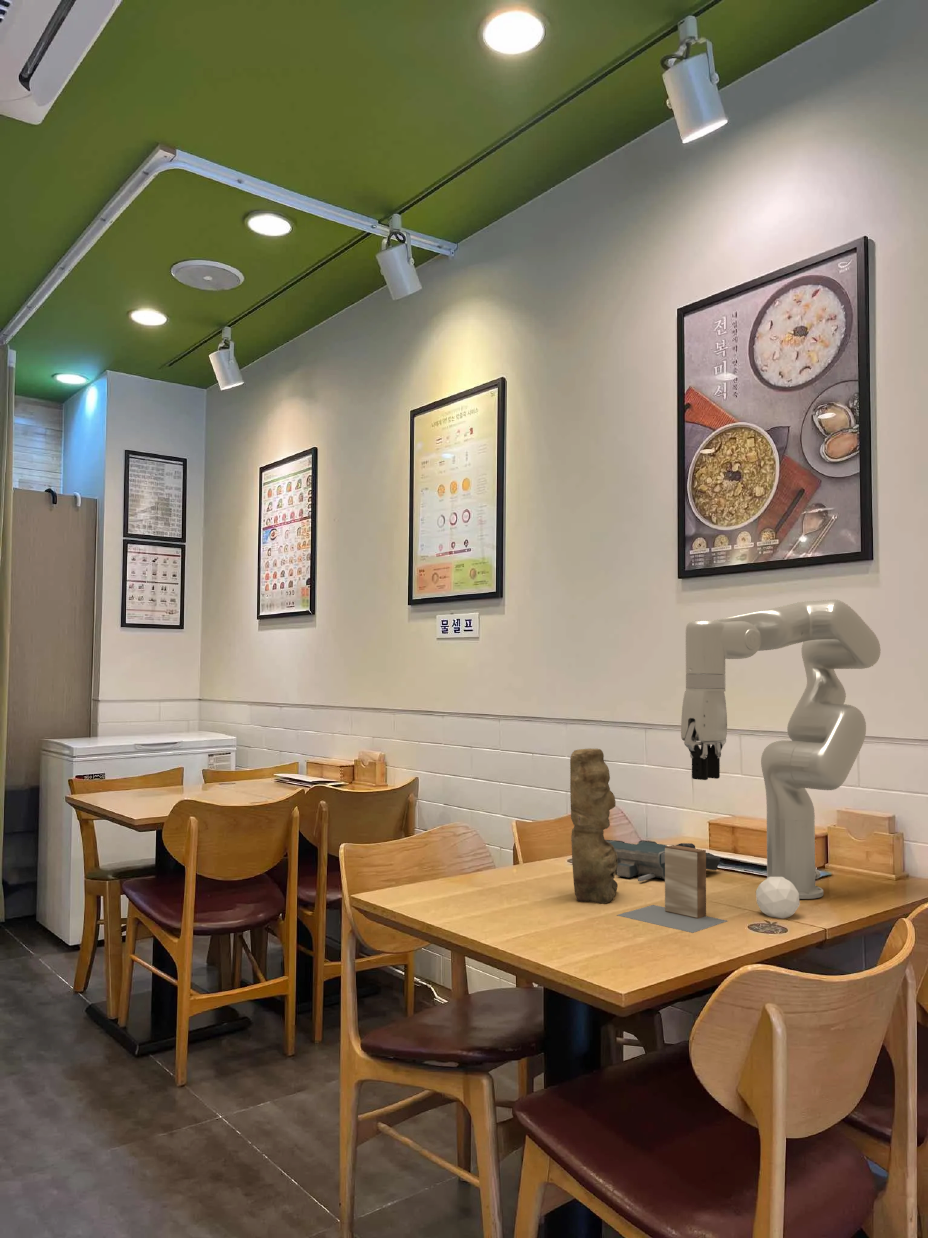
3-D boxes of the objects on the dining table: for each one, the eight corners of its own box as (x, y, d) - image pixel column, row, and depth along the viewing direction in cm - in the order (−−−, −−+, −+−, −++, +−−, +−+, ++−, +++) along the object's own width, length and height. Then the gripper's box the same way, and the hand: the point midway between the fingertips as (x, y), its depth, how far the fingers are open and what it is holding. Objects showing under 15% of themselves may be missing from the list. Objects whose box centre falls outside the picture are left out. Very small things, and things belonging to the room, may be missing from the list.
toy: (731, 849, 220) (684, 849, 196) (728, 886, 219) (681, 890, 195) (626, 833, 236) (571, 831, 212) (623, 867, 234) (567, 869, 210)
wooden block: (673, 909, 175) (673, 845, 176) (706, 916, 170) (705, 850, 171) (664, 911, 173) (664, 846, 174) (697, 919, 168) (697, 852, 169)
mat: (653, 908, 178) (653, 904, 178) (728, 924, 167) (728, 920, 167) (616, 918, 170) (616, 915, 170) (692, 936, 159) (692, 932, 159)
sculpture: (616, 908, 178) (616, 751, 180) (568, 905, 180) (569, 750, 182) (618, 894, 190) (618, 747, 192) (573, 891, 192) (574, 746, 194)
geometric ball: (789, 933, 172) (816, 902, 170) (762, 923, 168) (789, 890, 166) (766, 904, 178) (792, 874, 176) (739, 894, 174) (765, 862, 173)
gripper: (710, 684, 188) (710, 774, 187) (665, 683, 177) (665, 779, 175) (744, 684, 183) (744, 777, 182) (699, 683, 171) (700, 783, 170)
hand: (705, 777), depth 179 cm, fingers open, 3 cm apart
